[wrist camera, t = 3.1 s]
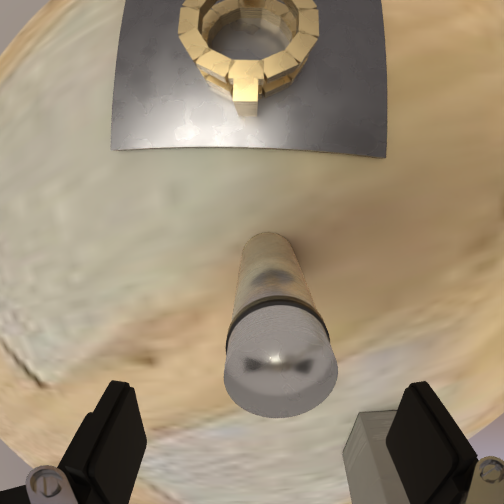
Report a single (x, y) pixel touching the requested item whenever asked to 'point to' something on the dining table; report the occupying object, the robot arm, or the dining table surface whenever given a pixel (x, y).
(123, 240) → the dining table surface
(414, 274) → the dining table surface
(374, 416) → the skincare box
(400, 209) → the dining table surface
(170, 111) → the collar stand
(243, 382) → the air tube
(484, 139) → the dining table surface
